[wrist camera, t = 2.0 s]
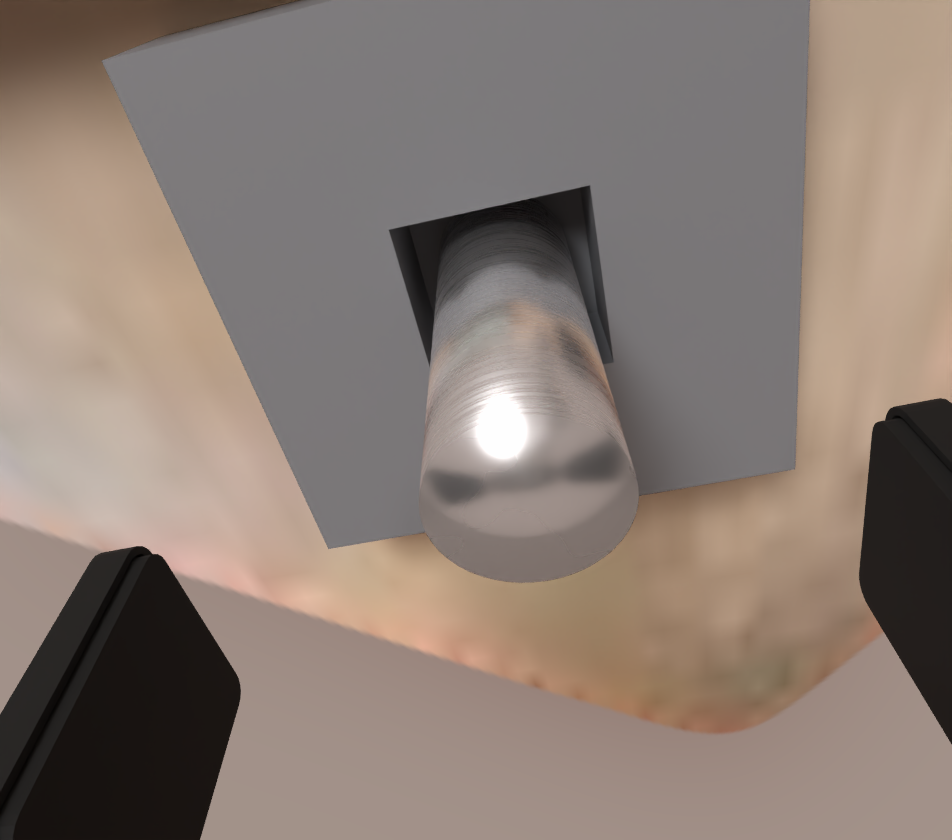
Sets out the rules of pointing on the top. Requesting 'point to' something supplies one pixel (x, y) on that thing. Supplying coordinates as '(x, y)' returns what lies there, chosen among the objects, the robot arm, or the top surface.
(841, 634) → the top surface
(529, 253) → the pin
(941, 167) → the top surface
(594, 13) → the grey square hole plate
